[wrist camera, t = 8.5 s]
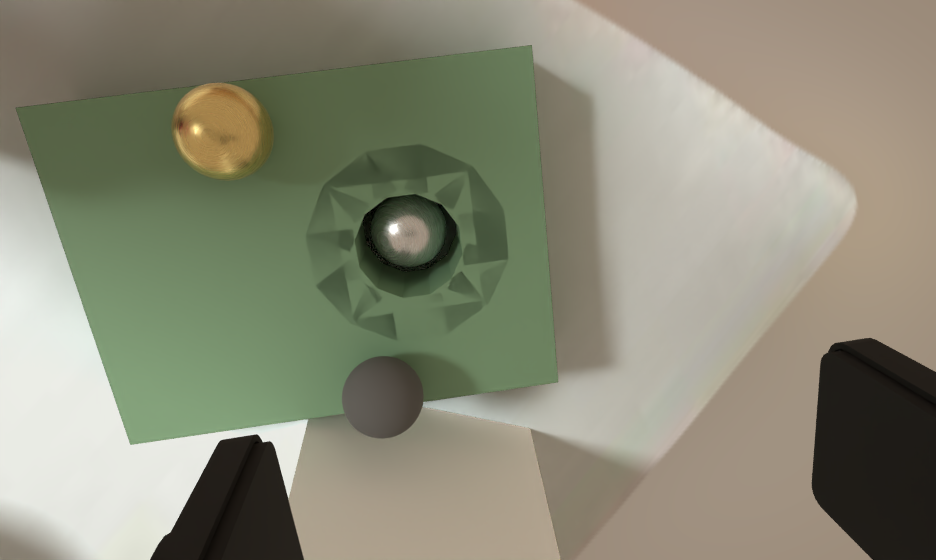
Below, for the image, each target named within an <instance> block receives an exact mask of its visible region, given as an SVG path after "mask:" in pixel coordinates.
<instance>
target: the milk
mask: <svg viewBox="0 0 936 560" xmlns="http://www.w3.org/2000/svg"><path fill="white" fill-rule="evenodd" d="M289 504H290V508H291V512H292V515H293V519H294V523H295V527H296V531H297V534H298V538H299V542H300V546H301V550H302V553H303V557H304V560H561V558H560V554H559V550H558V546H557V541H556V537H555V533H554V529H553V524H552V520H551V516H550V512H549V507H548V503H547V499H546V494H545V490H544V486H543V482H542V477H541V473H540V469H539V465H538V460H537V456H536V452H535V448H534V443H533V439H532V435H531V430H530V428H526V427H521V426H516V425H511V424H506V423H501V422H496V421H491V420H486V419H481V418H476V417H471V416H466V415H461V414H456V413H451V412H446V411H441V410H436V409H431V408H426V407H422V409H421V412H420V414H419V416H418V418H417V420H416V421H415V422H414V424H413V425H412V426H411V427H410V428H409V429H407V430H406V431H405V432H403V433H401V434H399V435H397V436H394V437H391V438H384V439H380V438H373V437H369V436H366V435H364V434H362V433H360V432H359V431H358V430H356V429H355V428H354V427H353V426H352V425H351V424H350V422H349V421H348V419H347V417H346V415H345V414H338V415H331V416H324V417H317V418H310V419H308V423H307V427H306V431H305V435H304V439H303V443H302V447H301V451H300V455H299V459H298V463H297V467H296V471H295V475H294V479H293V484H292V488H291V492H290V496H289Z"/></svg>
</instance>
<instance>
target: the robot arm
mask: <svg viewBox="0 0 936 560" xmlns="http://www.w3.org/2000/svg"><path fill="white" fill-rule="evenodd" d="M812 490H813V494H814V496H815V499H816V500H817V502H818V504H819V505H820V506H821V508H822V509H823V510H824V511H825V512H826V513H827V514H828V515H829V516H830V517H831V518H832V519H833V520H834V521H835V522H836V523H837V524H838V525H839V526H840V527H841V528H842V529H843V530H844V531H845V532H846V533H847V534H848V535H849V536H850V537H851V538H852V539H853V540H854V541H855V542H856V543H857V544H858V545H859V546H860V547H861V548H862V549H863V550H864V551H865V552H866V553H867V554H868V555H869V556H870V557H871V558H872V559H873V560H936V372H935V371H933V370H931V369H929V368H927V367H925V366H923V365H921V364H920V363H918V362H916V361H914V360H912V359H910V358H908V357H907V356H905V355H903V354H901V353H899V352H897V351H896V350H894V349H892V348H890V347H888V346H886V345H884V344H883V343H881V342H879V341H877V340H875V339H872V338H865V339H859V340H852V341H846V342H840V343H835V344H833V345H832V346H831V347H830V349H829V351H828V353H826V354H825V355H824V356H823V357H822V359H821V365H820V378H819V392H818V405H817V419H816V433H815V447H814V460H813V473H812ZM150 560H304V557H303V553H302V550H301V546H300V542H299V538H298V534H297V531H296V527H295V523H294V519H293V515H292V512H291V508H290V504H289V500H288V496H287V493H286V489H285V485H284V481H283V477H282V474H281V470H280V466H279V462H278V458H277V455H276V451H275V448H274V445H273V443H272V442H270V441H269V442H262V440H261V438H260V437H259V436H258V435H257V434H256V435H250V436H244V437H237V438H231V439H225V440H221V441H220V442H219V443H218V445H217V446H216V448H215V450H214V452H213V454H212V456H211V458H210V460H209V462H208V463H207V465H206V467H205V469H204V471H203V473H202V475H201V477H200V478H199V480H198V482H197V484H196V486H195V488H194V490H193V492H192V493H191V495H190V497H189V499H188V501H187V503H186V505H185V507H184V508H183V510H182V512H181V514H180V516H179V518H178V520H177V522H176V523H175V525H174V527H173V529H172V531H171V533H169V534H167V535H165V536H164V537H163V539H162V540H161V541H160V543H159V544H158V546H157V548H156V550H155V552H154V553H153V555H152V557H151V559H150Z"/></svg>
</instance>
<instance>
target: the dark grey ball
mask: <svg viewBox="0 0 936 560" xmlns="http://www.w3.org/2000/svg"><path fill="white" fill-rule="evenodd" d="M423 398H424V394H423V387H422V383H421V381H420V378H419V376H418V375H417V373H416V372H415V370H414V369H413V368H412V367H411V366H410V365H408V364H407V363H406V362H404V361H402V360H400V359H398V358H394V357H389V356H378V357H373V358H370V359H367V360H365V361H364V362H362V363H360V364H359V365H358V366H356V367H355V368H354V369H353V370H352V372H351V373H350V374H349V376H348V377H347V379H346V381H345V384H344V387H343V391H342V405H343V410H344V413H345V415H346V417H347V419H348V421H349V422H350V424H351V425H352V426H353V427H354V428H355V429H356V430H358V431H359V432H360V433H362V434H364V435H366V436H369V437H373V438H380V439H384V438H391V437H394V436H397V435H399V434H401V433H403V432H405V431H406V430H407V429H409V428H410V427H411V426H412V425H413V424H414V422H415V421H416V420H417V418H418V416H419V414H420V412H421V409H422V406H423Z"/></svg>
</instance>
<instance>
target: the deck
mask: <svg viewBox="0 0 936 560" xmlns="http://www.w3.org/2000/svg"><path fill="white" fill-rule="evenodd" d="M224 83H227V84H232V85H235V86H238V87H241V88H243V89H245V90H246V91H248V92H250V93H251V94H252V95H254V96H255V97H256V98H257V99H258V100H259V101H260V102H261V103H262V104H263V106H264V107H265V109H266V110H267V112H268V114H269V116H270V118H271V121H272V125H273V130H274V142H273V147H272V151H271V153H270V156H269V157H268V159H267V161H266V162H265V163H264V165H263V166H262V167H261V168H260V169H259V170H257V171H256V172H255V173H253V174H251V175H249V176H247V177H245V178H242V179H237V180H230V181H225V180H217V179H212V178H209V177H206V176H204V175H202V174H200V173H198V172H197V171H195V170H194V169H193V168H191V167H190V166H189V165H188V164H187V163H186V162H185V161H184V160H183V159H182V157H181V156H180V154H179V153H178V151H177V149H176V147H175V145H174V142H173V138H172V132H171V123H172V117H173V113H174V110H175V108H176V106H177V104H178V103H179V101H180V100H181V99H182V98H183V97H184V96H185V95H186V94H187V93H188V92H190V91H191V90H192V89H194V88H196V87H198V86H191V87H182V88H174V89H166V90H158V91H149V92H141V93H133V94H125V95H117V96H108V97H100V98H92V99H84V100H75V101H67V102H59V103H51V104H42V105H34V106H26V107H18V108H16V111H17V113H18V116H19V119H20V122H21V125H22V128H23V131H24V134H25V137H26V140H27V143H28V146H29V149H30V152H31V155H32V157H33V160H34V163H35V166H36V169H37V172H38V175H39V178H40V181H41V184H42V187H43V190H44V193H45V196H46V199H47V201H48V204H49V207H50V210H51V213H52V216H53V219H54V222H55V225H56V228H57V231H58V234H59V237H60V240H61V242H62V245H63V248H64V251H65V254H66V257H67V260H68V263H69V266H70V269H71V272H72V275H73V278H74V281H75V284H76V286H77V289H78V292H79V295H80V298H81V301H82V304H83V307H84V310H85V313H86V316H87V319H88V322H89V325H90V328H91V330H92V333H93V336H94V339H95V342H96V345H97V348H98V351H99V354H100V357H101V360H102V363H103V366H104V369H105V372H106V374H107V377H108V380H109V383H110V386H111V389H112V392H113V395H114V398H115V401H116V404H117V407H118V410H119V413H120V415H121V418H122V421H123V424H124V427H125V430H126V433H127V436H128V439H129V442H130V445H133V444H139V443H146V442H153V441H160V440H167V439H174V438H180V437H187V436H194V435H201V434H208V433H215V432H221V431H228V430H235V429H242V428H249V427H256V426H262V425H269V424H276V423H283V422H290V421H297V420H303V419H310V418H317V417H324V416H331V415H338V414H345V413H344V410H343V405H342V391H343V387H344V384H345V381H346V379H347V377H348V376H349V374H350V373H351V372H352V370H353V369H354V368H355V367H356V366H358V365H359V364H360V363H362V362H364V361H365V360H367V359H370V358H373V357H378V356H389V357H394V358H398V359H400V360H402V361H404V362H406V363H407V364H408V365H410V366H411V367H412V368H413V369H414V370H415V372H416V373H417V375H418V376H419V378H420V381H421V383H422V387H423V394H424V398H423V402H427V401H433V400H440V399H447V398H454V397H461V396H468V395H474V394H481V393H488V392H495V391H502V390H509V389H515V388H522V387H529V386H536V385H543V384H550V383H556V382H558V374H557V361H556V349H555V336H554V323H553V310H552V297H551V285H550V272H549V259H548V246H547V233H546V221H545V208H544V195H543V182H542V170H541V157H540V144H539V131H538V118H537V106H536V93H535V80H534V67H533V54H532V45H529V46H521V47H512V48H504V49H496V50H488V51H479V52H471V53H463V54H455V55H446V56H438V57H430V58H422V59H413V60H405V61H397V62H389V63H380V64H372V65H364V66H356V67H347V68H339V69H331V70H323V71H314V72H306V73H298V74H290V75H281V76H273V77H265V78H257V79H248V80H240V81H232V82H224ZM199 86H201V85H199ZM411 194H417V195H419V196H422V197H424V198H427V199H429V200H432V201H434V202H437V203H439V204H441V205H443V207H444V208H445V209H446V211H447V212H448V213H449V214H450V216H451V217H452V218H453V220H454V221H455V225H456V235H455V238H454V240H453V242H452V245H451V247H450V249H449V252H448V254H447V255H446V256H445V257H443V258H442V259H441V260H439V261H438V262H437V263H435V264H434V265H433V266H431V267H430V268H429V269H422V270H415V271H407V272H404V271H401V270H398V269H396V268H393V267H391V266H388V265H385V264H383V263H382V262H381V261H380V260H379V259H378V258H377V257H376V255H375V254H374V253H373V252H372V251H371V249H370V248H369V247H368V246H367V244H366V238H365V232H364V227H363V219H364V216H365V214H366V213H368V212H369V211H370V210H372V209H373V208H374V207H375V206H377V205H378V204H379V203H381V202H382V201H383V200H384V199H386V198H388V197H396V196H403V195H411Z"/></svg>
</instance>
